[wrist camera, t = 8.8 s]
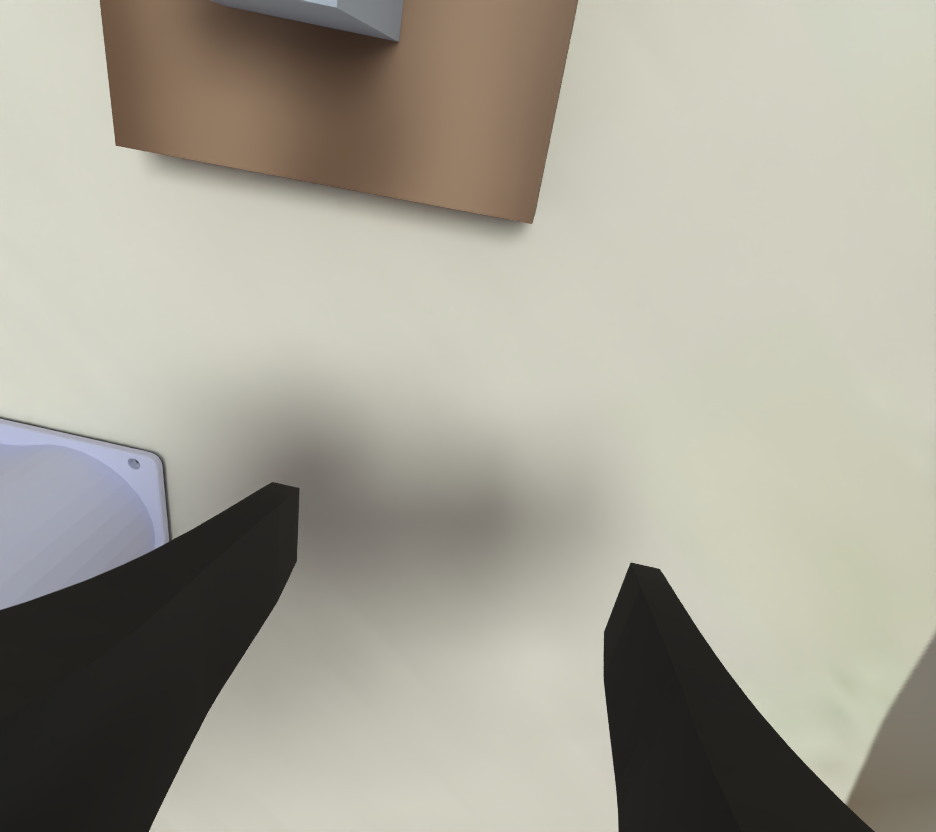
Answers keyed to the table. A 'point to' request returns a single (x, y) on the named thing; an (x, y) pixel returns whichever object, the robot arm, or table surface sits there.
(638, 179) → the table surface
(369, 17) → the slate cube
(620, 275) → the table surface
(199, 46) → the walnut base
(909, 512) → the table surface
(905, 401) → the table surface
